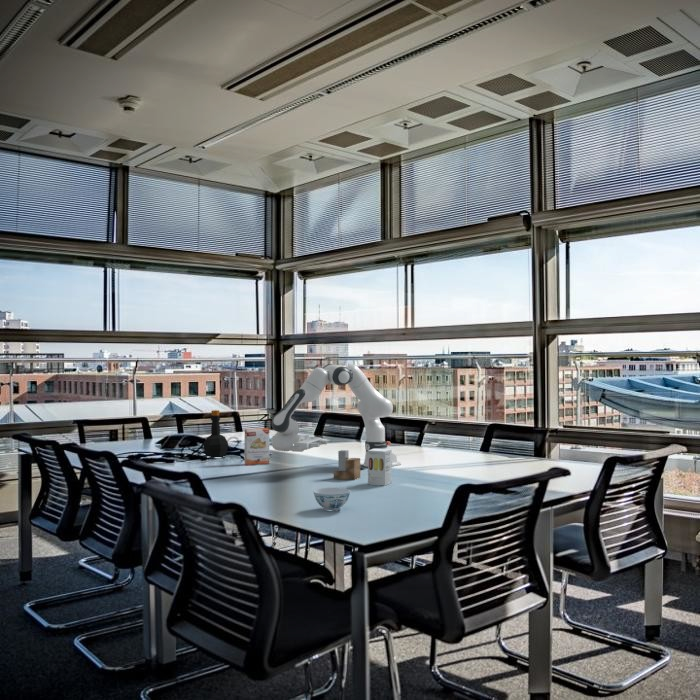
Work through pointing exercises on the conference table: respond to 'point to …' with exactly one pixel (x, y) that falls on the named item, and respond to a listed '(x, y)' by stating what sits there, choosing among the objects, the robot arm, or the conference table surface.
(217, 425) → the bottle
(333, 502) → the chinaware
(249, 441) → the cracker box
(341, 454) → the grey tall block
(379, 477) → the supplement box
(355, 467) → the brown l-shaped block
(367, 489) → the conference table surface
